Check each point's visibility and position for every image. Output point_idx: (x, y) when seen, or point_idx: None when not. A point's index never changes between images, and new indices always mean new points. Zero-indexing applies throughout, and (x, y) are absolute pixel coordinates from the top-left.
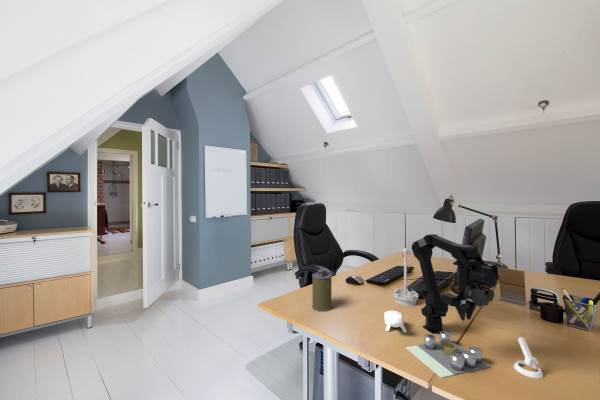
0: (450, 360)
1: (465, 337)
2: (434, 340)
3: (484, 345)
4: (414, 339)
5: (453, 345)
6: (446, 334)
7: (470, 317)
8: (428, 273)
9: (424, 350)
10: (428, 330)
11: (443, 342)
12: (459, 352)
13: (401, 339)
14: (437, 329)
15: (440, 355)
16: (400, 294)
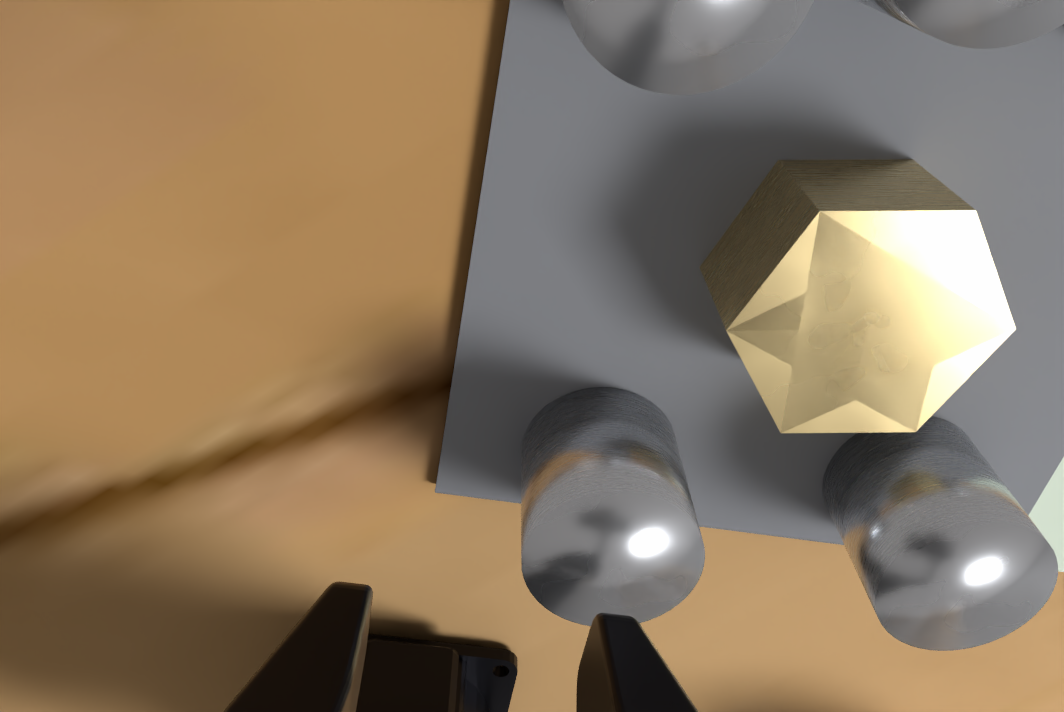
0: (1022, 133)
1: (131, 439)
2: (975, 507)
3: (15, 174)
4: (856, 651)
5: (811, 299)
6: (638, 537)
7: (316, 641)
8: None
9: (1047, 454)
10: (506, 710)
11: (856, 426)
12: (655, 215)
13: (991, 699)
14: (452, 682)
15: (1002, 287)
16: None
